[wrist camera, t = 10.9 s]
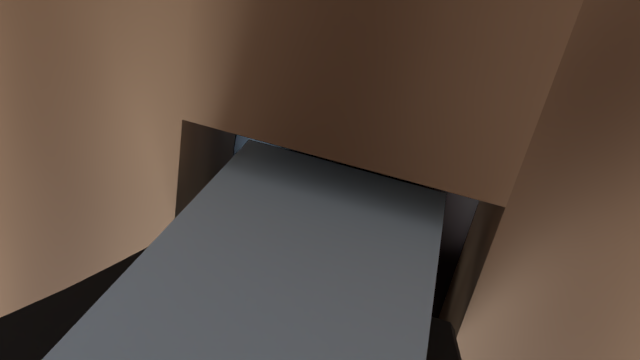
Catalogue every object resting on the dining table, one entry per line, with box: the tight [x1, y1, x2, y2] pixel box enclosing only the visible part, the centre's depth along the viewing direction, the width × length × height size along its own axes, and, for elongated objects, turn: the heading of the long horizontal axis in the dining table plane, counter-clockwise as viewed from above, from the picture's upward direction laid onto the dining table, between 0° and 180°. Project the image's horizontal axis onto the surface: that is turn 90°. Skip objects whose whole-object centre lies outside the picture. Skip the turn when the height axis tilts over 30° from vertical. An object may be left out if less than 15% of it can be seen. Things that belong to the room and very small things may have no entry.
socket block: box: [0, 0, 640, 360], centre depth 13 cm, size 14×14×3 cm
